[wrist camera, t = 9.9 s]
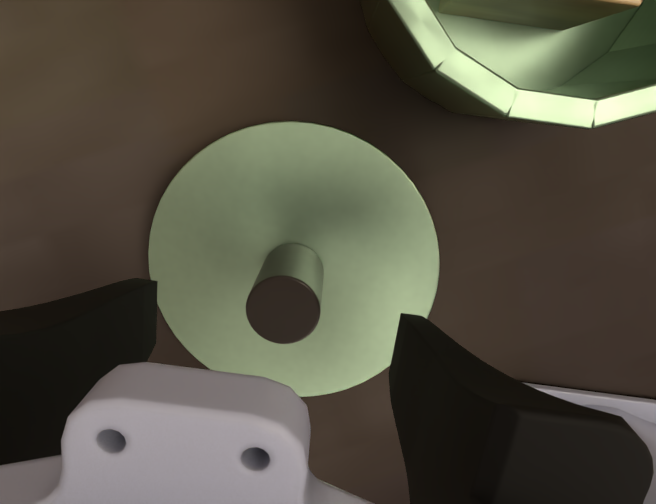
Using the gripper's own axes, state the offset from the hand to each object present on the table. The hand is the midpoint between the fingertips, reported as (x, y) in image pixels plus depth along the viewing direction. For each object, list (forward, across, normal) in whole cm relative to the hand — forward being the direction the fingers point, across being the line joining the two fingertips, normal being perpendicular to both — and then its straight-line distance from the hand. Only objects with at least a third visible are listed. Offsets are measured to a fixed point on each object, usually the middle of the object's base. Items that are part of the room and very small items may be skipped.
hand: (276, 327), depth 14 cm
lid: (+5, 0, 0) cm, 5 cm away
